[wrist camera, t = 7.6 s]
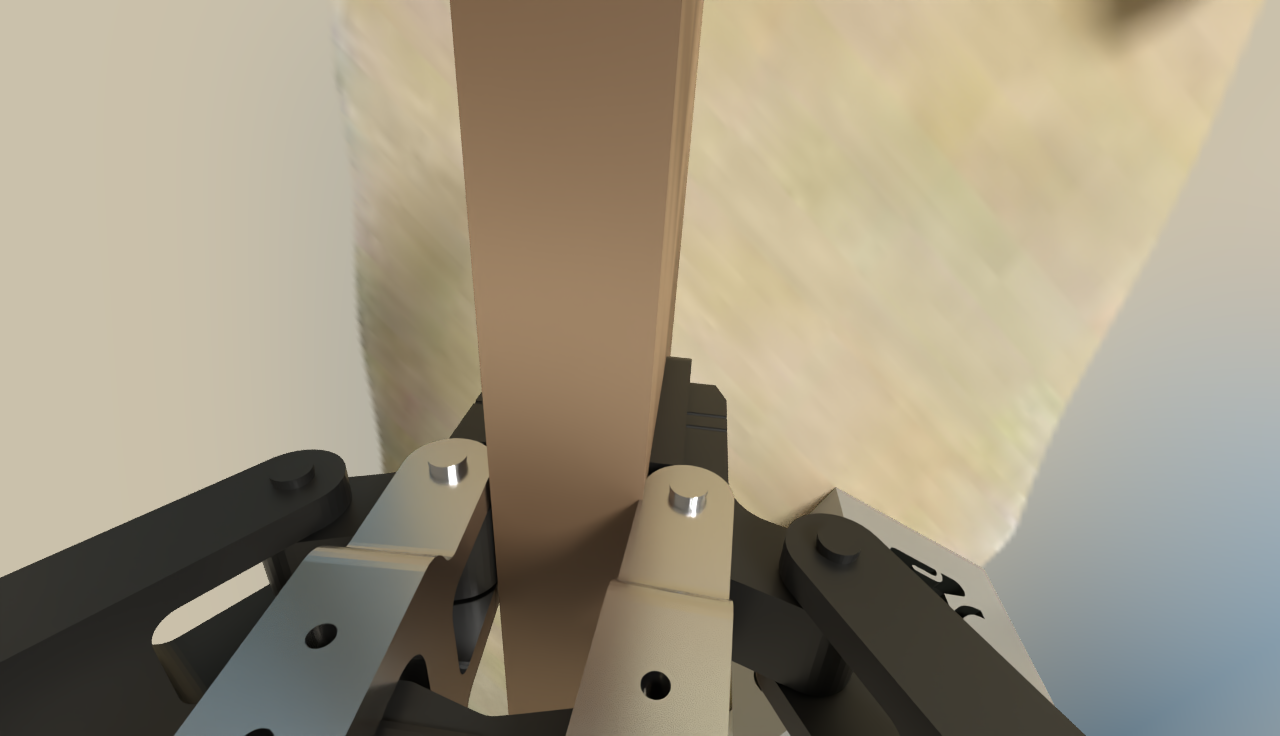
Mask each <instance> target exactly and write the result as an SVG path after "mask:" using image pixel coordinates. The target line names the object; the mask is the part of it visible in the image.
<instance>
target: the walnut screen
mask: <svg viewBox="0 0 1280 736" xmlns="http://www.w3.org/2000/svg"><path fill="white" fill-rule="evenodd" d="M703 3H704V0H450V7H451V19H452V32H453V44H454V56H455V68H456V80H457V92H458V105H459V117H460V129H461V141H462V153H463V165H464V177H465V190H466V202H467V214H468V226H469V238H470V250H471V263H472V275H473V287H474V299H475V311H476V323H477V335H478V348H479V360H480V372H481V384H482V396H483V408H484V421H485V433H486V445H487V457H488V469H489V481H490V493H491V506H492V518H493V530H494V542H495V554H496V566H497V579H498V591H499V603H500V615H501V627H502V639H503V651H504V664H505V676H506V688H507V700H508V712H509V715H514V714H523V713H532V712H542V711H551V710H560V709H569V708H574V704H575V701H576V697H577V694H578V690H579V687H580V683H581V680H582V676H583V673H584V669H585V666H586V662H587V658H588V655H589V651H590V648H591V644H592V641H593V637H594V634H595V630H596V627H597V623H598V620H599V616H600V613H601V609H602V606H603V602H604V598H605V595H606V592H607V589H608V586H609V583H610V581H611V580H612V579H613V578H614V579H618V576H619V572H620V569H621V565H622V561H623V558H624V554H625V550H626V546H627V543H628V539H629V535H630V532H631V528H632V524H633V520H634V517H635V513H636V509H637V505H638V502H639V500H643V495H644V489H645V483H646V479H647V478H648V472H649V461H650V455H651V449H652V443H653V436H654V430H655V424H656V418H657V412H658V406H659V400H660V393H661V387H662V381H663V375H664V369H665V363H666V357H667V356H670V353H671V343H672V332H673V321H674V311H675V300H676V290H677V279H678V268H679V258H680V247H681V236H682V226H683V215H684V205H685V194H686V183H687V173H688V162H689V151H690V141H691V130H692V120H693V109H694V98H695V88H696V77H697V66H698V56H699V45H700V35H701V24H702V13H703Z"/></svg>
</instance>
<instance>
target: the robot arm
mask: <svg viewBox="0 0 1280 736" xmlns="http://www.w3.org/2000/svg"><path fill="white" fill-rule="evenodd" d="M691 362H692V359H689V358H679V357H670V356H667V357H666V363H665V369H664V375H663V381H662V387H661V393H660V400H659V406H658V412H657V418H656V424H655V430H654V436H653V443H652V449H651V455H650V461H649V472H648V478H647V479H646V483H645V489H644V495H643V500H639V502H638V505H637V509H636V513H635V517H634V520H633V524H632V528H631V532H630V535H629V539H628V543H627V546H626V550H625V554H624V558H623V561H622V565H621V569H620V572H619V576H618V579H614V578H613V579H612V580H611V581H610V583H609V586H608V589H607V592H606V595H605V598H604V602H603V606H602V609H601V613H600V616H599V620H598V623H597V627H596V630H595V634H594V637H593V641H592V644H591V648H590V651H589V655H588V658H587V662H586V666H585V669H584V673H583V676H582V680H581V683H580V687H579V690H578V694H577V697H576V701H575V704H574V708H569V709H560V710H551V711H542V712H532V713H523V714H514V715H504V716H486V715H483V714H480V713H478V712H475V711H473V710H471V709H469V708H468V702H469V697H470V692H471V688H472V685H473V682H474V679H475V676H476V673H477V670H478V666H479V663H480V660H481V657H482V654H483V651H484V648H485V645H486V642H487V639H488V636H489V633H490V629H491V626H492V623H493V620H494V617H495V614H496V611H497V608H498V605H499V591H498V579H497V566H496V554H495V542H494V530H493V518H492V506H491V493H490V481H489V469H488V457H487V445H486V433H485V421H484V408H483V396H482V392H481V394H480V395H479V396H478V398H477V399H476V403H475V404H473V405H472V406H471V408H470V409H469V411H468V412H467V414H466V415H465V417H464V418H463V419H462V421H461V422H460V424H459V425H458V427H457V428H456V429H455V431H454V432H453V434H452V435H451V437H450V438H449V439H444V440H438V441H435V442H431V443H429V444H426V445H424V446H422V447H420V448H418V449H416V450H415V451H413V452H412V453H411V454H410V455H409V456H408V457H407V458H406V459H405V460H404V462H403V463H402V465H401V466H400V468H399V469H398V471H397V472H394V473H387V474H377V475H367V476H356V477H348V474H347V470H346V466H345V463H344V461H343V459H342V458H340V456H338V455H336V454H335V453H332V452H329V451H324V450H301V451H295V452H290V453H286V454H283V455H280V456H277V457H274V458H272V459H270V460H267V461H265V462H263V463H260V464H258V465H256V466H254V467H251V468H249V469H247V470H244V471H242V472H240V473H238V474H235V475H233V476H231V477H229V478H226V479H224V480H222V481H219V482H217V483H215V484H213V485H210V486H208V487H206V488H204V489H201V490H199V491H197V492H194V493H192V494H190V495H188V496H186V497H183V498H181V499H179V500H176V501H174V502H172V503H169V504H167V505H165V506H162V507H160V508H158V509H156V510H154V511H151V512H149V513H147V514H144V515H142V516H140V517H137V518H135V519H133V520H131V521H128V522H126V523H124V524H122V525H119V526H117V527H115V528H112V529H110V530H108V531H106V532H103V533H101V534H99V535H96V536H94V537H92V538H90V539H87V540H85V541H83V542H81V543H78V544H76V545H74V546H71V547H69V548H67V549H65V550H63V551H60V552H58V553H55V554H53V555H51V556H49V557H46V558H44V559H42V560H40V561H37V562H35V563H33V564H31V565H28V566H26V567H24V568H21V569H19V570H17V571H15V572H12V573H10V574H8V575H5V576H4V577H1V578H0V736H728V723H729V701H730V678H731V661H733V662H735V663H737V664H740V665H742V666H744V667H746V668H748V669H750V670H752V671H755V673H756V678H757V681H758V684H759V686H760V688H761V690H762V692H763V693H764V695H765V696H766V698H767V700H768V701H769V703H770V704H771V706H772V708H773V709H774V711H775V712H776V714H777V715H778V717H779V719H780V720H781V722H782V723H783V725H784V726H785V728H786V730H787V731H788V733H789V734H790V736H1086V735H1084V734H1083V733H1082V732H1081V731H1080V730H1079V729H1078V728H1077V727H1076V726H1075V725H1074V724H1073V723H1072V722H1071V721H1070V720H1069V719H1068V718H1067V717H1066V716H1065V715H1063V714H1062V713H1061V712H1060V711H1059V710H1058V709H1057V708H1056V707H1055V706H1054V705H1053V704H1052V703H1051V702H1050V701H1049V700H1048V699H1047V698H1046V697H1045V696H1044V695H1042V694H1041V693H1040V692H1039V691H1038V690H1037V689H1036V688H1035V687H1034V686H1033V685H1032V684H1031V683H1030V682H1029V681H1028V680H1027V679H1026V678H1025V677H1024V676H1023V675H1021V674H1020V673H1019V672H1018V671H1017V670H1016V669H1015V668H1014V667H1013V666H1012V665H1011V664H1010V663H1009V662H1008V661H1007V660H1006V659H1005V658H1004V657H1003V656H1002V655H1000V654H999V653H998V652H997V651H996V650H995V649H994V648H993V647H992V646H991V645H990V644H989V643H988V642H987V641H986V640H985V639H984V638H983V637H982V636H981V635H979V634H978V633H977V632H976V631H975V630H974V629H973V628H972V627H971V626H970V625H969V624H968V623H967V622H966V621H965V620H964V619H963V618H962V617H961V616H960V615H958V614H957V613H956V612H955V611H954V610H953V609H952V608H951V607H950V606H949V605H948V604H947V603H946V602H945V601H944V600H943V599H942V598H941V597H940V596H939V595H937V594H936V593H935V592H934V591H933V590H932V589H931V588H930V587H929V586H928V585H927V584H926V583H925V582H924V581H923V580H922V579H921V578H920V577H919V576H918V575H916V574H915V573H914V572H913V571H912V570H911V569H910V568H909V567H908V566H907V565H906V564H905V563H904V562H903V561H902V560H901V559H900V558H899V557H898V556H897V555H895V554H894V553H893V552H892V551H891V550H890V549H889V548H888V547H887V546H886V545H885V544H884V543H883V542H882V541H881V540H880V539H879V538H878V537H877V536H876V535H874V534H873V533H872V532H871V531H870V530H868V529H867V528H865V527H864V526H862V525H860V524H859V523H857V522H855V521H853V520H850V519H848V518H845V517H842V516H838V515H833V514H826V513H815V514H808V515H804V516H802V517H799V518H798V519H796V520H794V521H793V522H792V523H791V524H790V525H789V527H788V529H787V528H785V527H782V526H779V525H776V524H774V523H771V522H768V521H766V520H763V519H761V518H759V517H757V516H755V515H753V514H752V513H750V512H749V511H747V510H746V509H745V508H744V507H742V506H741V505H740V504H739V503H738V502H737V500H736V499H735V498H734V495H733V492H732V489H731V488H730V486H729V483H728V448H727V419H726V418H727V405H726V399H725V398H724V396H723V395H722V394H721V392H720V391H719V390H718V388H717V387H716V385H706V384H697V383H690V374H691ZM260 562H263V565H264V568H265V571H266V574H267V577H268V580H269V582H270V584H269V585H267V586H265V587H264V588H262V589H260V590H259V591H257V592H255V593H253V594H252V595H250V596H249V597H247V598H245V599H243V600H242V601H240V602H238V603H236V604H235V605H233V606H231V607H229V608H228V609H226V610H224V611H223V612H221V613H219V614H217V615H216V616H214V617H212V618H211V619H209V620H207V621H205V622H204V623H202V624H200V625H199V626H197V627H195V628H194V629H192V630H190V631H188V632H187V633H185V634H183V635H182V636H180V637H178V638H176V639H174V640H172V641H170V642H167V643H163V644H157V645H152V636H153V633H154V631H155V629H156V627H157V626H158V625H159V623H160V622H161V621H162V620H163V619H164V618H165V617H166V616H167V615H169V614H170V613H171V612H173V611H174V610H176V609H177V608H179V607H180V606H183V605H184V604H186V603H188V602H190V601H192V600H194V599H195V598H197V597H199V596H201V595H202V594H204V593H206V592H208V591H210V590H212V589H213V588H215V587H217V586H219V585H220V584H222V583H224V582H226V581H228V580H230V579H232V578H233V577H235V576H237V575H239V574H241V573H242V572H244V571H246V570H247V569H250V568H251V567H253V566H255V565H257V564H259V563H260Z"/></svg>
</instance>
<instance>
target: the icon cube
mask: <svg viewBox="0 0 1280 736" xmlns="http://www.w3.org/2000/svg"><path fill="white" fill-rule="evenodd" d="M815 513H826V514H833V515H838V516H842V517H845V518H848V519H850V520H853V521H855V522H857V523H859V524H860V525H862V526H864V527H865V528H867V529H868V530H870V531H871V532H872V533H873V534H874V535H876V536H877V537H878V538H879V539H880V540H881V541H882V542H883V543H884V544H885V545H886V546H887V547H888V548H889V549H890V550H891V551H892V552H893V553H894V554H895V555H897V556H898V557H899V558H900V559H901V560H902V561H903V562H904V563H905V564H906V565H907V566H908V567H909V568H910V569H911V570H912V571H913V572H914V573H915V574H916V575H918V576H919V577H920V578H921V579H922V580H923V581H924V582H925V583H926V584H927V585H928V586H929V587H930V588H931V589H932V590H933V591H934V592H935V593H936V594H937V595H939V596H940V597H941V598H942V599H943V600H944V601H945V602H946V603H947V604H948V605H949V606H950V607H951V608H952V609H953V610H954V611H955V612H956V613H957V614H958V615H960V616H961V617H962V618H963V619H964V620H965V621H966V622H967V623H968V624H969V625H970V626H971V627H972V628H973V629H974V630H975V631H976V632H977V633H978V634H979V635H981V636H982V637H983V638H984V639H985V640H986V641H987V642H988V643H989V644H990V645H991V646H992V647H993V648H994V649H995V650H996V651H997V652H998V653H999V654H1000V655H1002V656H1003V657H1004V658H1005V659H1006V660H1007V661H1008V662H1009V663H1010V664H1011V665H1012V666H1013V667H1014V668H1015V669H1016V670H1017V671H1018V672H1019V673H1020V674H1021V675H1023V676H1024V677H1025V678H1026V679H1027V680H1028V681H1029V682H1030V683H1031V684H1032V685H1033V686H1034V687H1035V688H1036V689H1037V690H1038V691H1039V692H1040V693H1041V694H1042V695H1044V696H1045V697H1046V698H1047V699H1048V700H1049V701H1050V702H1051V703H1052V704H1053V702H1052V700H1051V698H1050V696H1049V694H1048V692H1047V690H1046V688H1045V686H1044V684H1043V682H1042V680H1041V679H1040V676H1039V675H1038V673H1037V671H1036V669H1035V667H1034V665H1033V663H1032V661H1031V659H1030V657H1029V655H1028V653H1027V651H1026V649H1025V647H1024V645H1023V644H1022V642H1021V640H1020V638H1019V636H1018V634H1017V632H1016V630H1015V628H1014V626H1013V624H1012V622H1011V620H1010V618H1009V616H1008V614H1007V613H1006V610H1005V609H1004V607H1003V605H1002V603H1001V601H1000V599H999V597H998V595H997V593H996V591H995V589H994V587H993V585H992V583H991V581H990V579H989V577H988V575H987V574H986V572H985V570H984V569H983V568H981V567H979V566H978V565H976V564H974V563H972V562H970V561H969V560H967V559H965V558H963V557H961V556H960V555H958V554H956V553H954V552H952V551H950V550H949V549H947V548H945V547H943V546H941V545H940V544H938V543H936V542H934V541H932V540H931V539H929V538H927V537H925V536H923V535H922V534H920V533H918V532H916V531H914V530H912V529H911V528H909V527H907V526H905V525H903V524H902V523H900V522H898V521H896V520H894V519H893V518H891V517H889V516H887V515H885V514H883V513H882V512H880V511H878V510H876V509H874V508H873V507H871V506H869V505H867V504H865V503H864V502H862V501H860V500H858V499H856V498H854V497H853V496H851V495H849V494H847V493H845V492H844V491H842V490H840V489H838V488H836V487H835V488H834V489H833V490H832V491H831V492H830V493H829V494H828V495H827V496H826V498H825V499H824V500H823V501H822V502H821V503H820V504H819V505H818V506H817V507H816V508H815V509H814V510H813V511H812V512H811V513H810V514H815ZM731 674H732V721H733V736H790V734H789V733H788V731H787V730H786V728H785V726H784V725H783V723H782V722H781V720H780V719H779V717H778V715H777V714H776V712H775V711H774V709H773V708H772V706H771V704H770V703H769V701H768V700H767V698H766V696H765V695H764V693H763V692H762V690H761V688H760V686H759V684H758V681H757V678H756V673H755V671H752V670H750V669H748V668H746V667H744V666H742V665H740V664H737V663H735V662H733V661H731ZM1053 705H1054V704H1053Z"/></svg>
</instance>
